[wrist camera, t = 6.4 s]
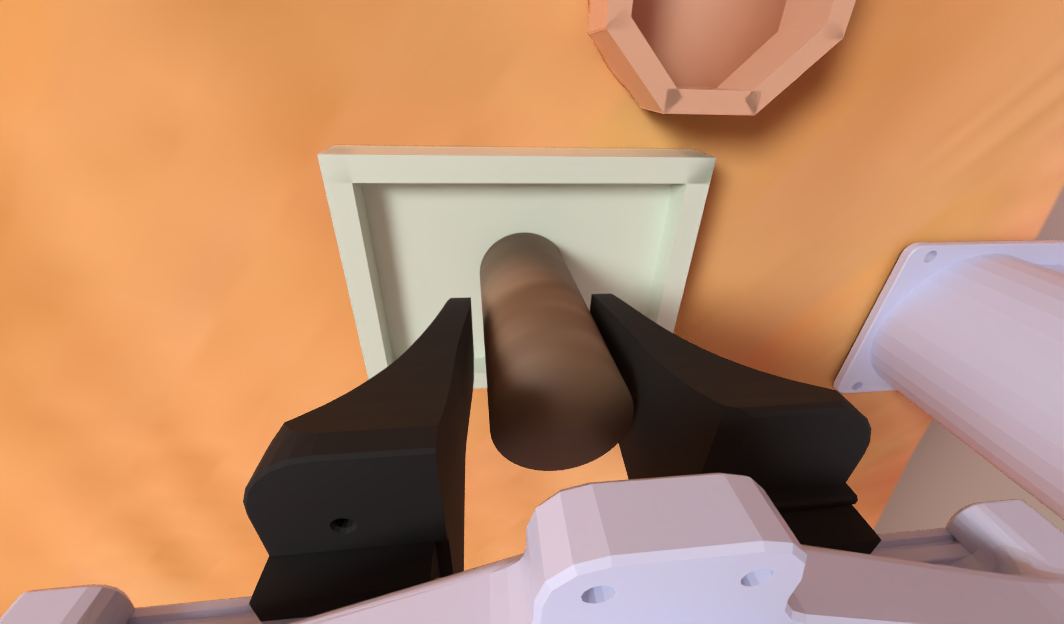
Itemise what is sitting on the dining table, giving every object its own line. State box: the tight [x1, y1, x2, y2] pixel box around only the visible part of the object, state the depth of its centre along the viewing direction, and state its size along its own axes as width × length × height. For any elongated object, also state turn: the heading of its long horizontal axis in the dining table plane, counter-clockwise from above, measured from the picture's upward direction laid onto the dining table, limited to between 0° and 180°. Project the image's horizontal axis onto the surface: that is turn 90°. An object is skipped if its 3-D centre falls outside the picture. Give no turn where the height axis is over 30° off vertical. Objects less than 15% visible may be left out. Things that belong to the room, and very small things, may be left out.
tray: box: [317, 145, 716, 389], centre depth 15 cm, size 12×9×2 cm
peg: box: [480, 232, 634, 471], centre depth 12 cm, size 3×3×8 cm
